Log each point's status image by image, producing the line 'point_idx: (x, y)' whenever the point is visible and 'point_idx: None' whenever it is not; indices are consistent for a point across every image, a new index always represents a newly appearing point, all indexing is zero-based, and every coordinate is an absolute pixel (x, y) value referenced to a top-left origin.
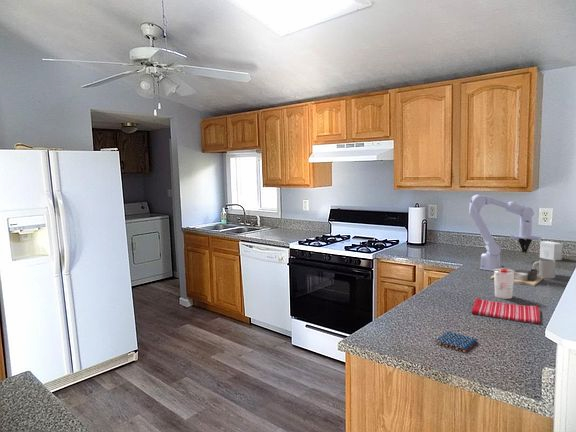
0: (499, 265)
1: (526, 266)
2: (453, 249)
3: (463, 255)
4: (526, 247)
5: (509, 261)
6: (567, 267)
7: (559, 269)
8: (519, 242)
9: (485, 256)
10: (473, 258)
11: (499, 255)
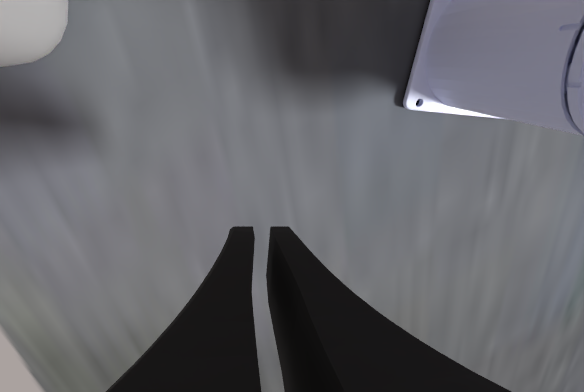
0: (453, 41)
1: (263, 281)
2: (573, 383)
3: (563, 321)
4: (217, 286)
5: None
6: (56, 382)
7: (64, 319)
8: (466, 378)
9: None
10: (531, 293)
11: (579, 16)
